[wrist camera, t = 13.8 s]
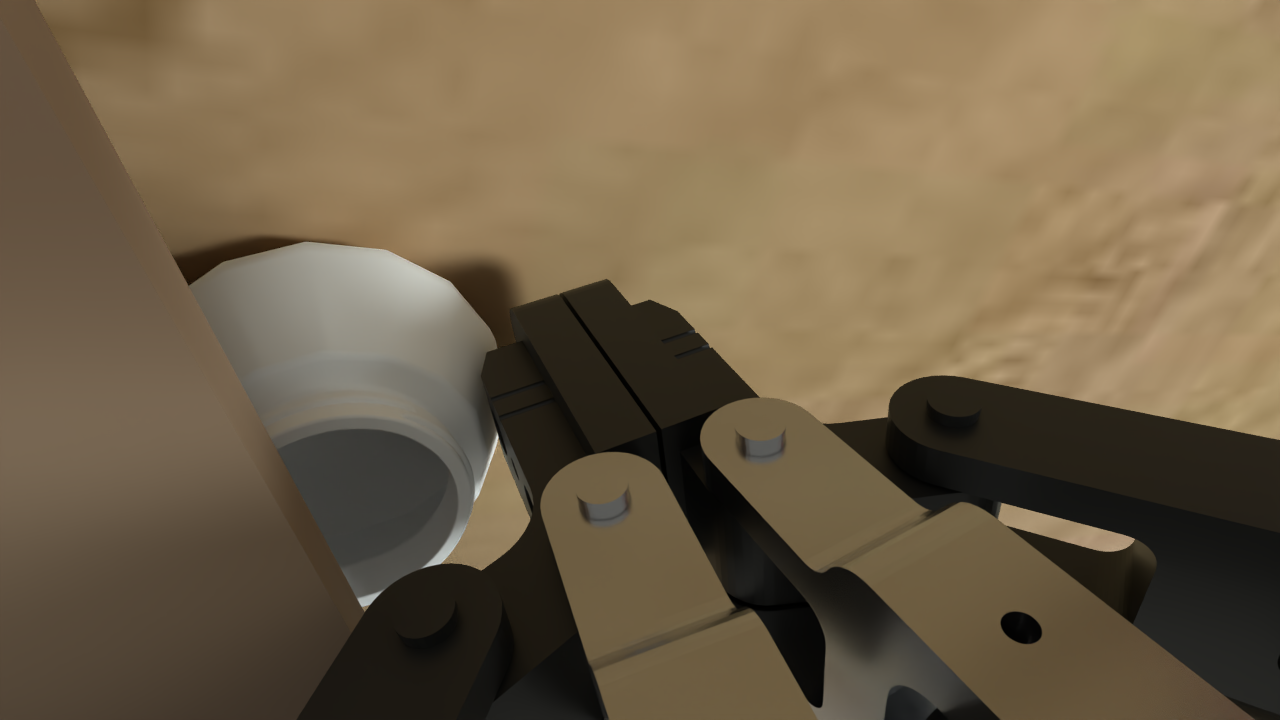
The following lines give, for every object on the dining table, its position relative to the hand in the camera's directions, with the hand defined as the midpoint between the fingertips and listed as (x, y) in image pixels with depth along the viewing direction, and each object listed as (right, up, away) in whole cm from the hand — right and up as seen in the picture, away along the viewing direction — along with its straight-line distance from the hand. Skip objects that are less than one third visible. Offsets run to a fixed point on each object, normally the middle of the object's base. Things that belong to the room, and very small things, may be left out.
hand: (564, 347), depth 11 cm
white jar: (-4, -1, 0) cm, 4 cm away
